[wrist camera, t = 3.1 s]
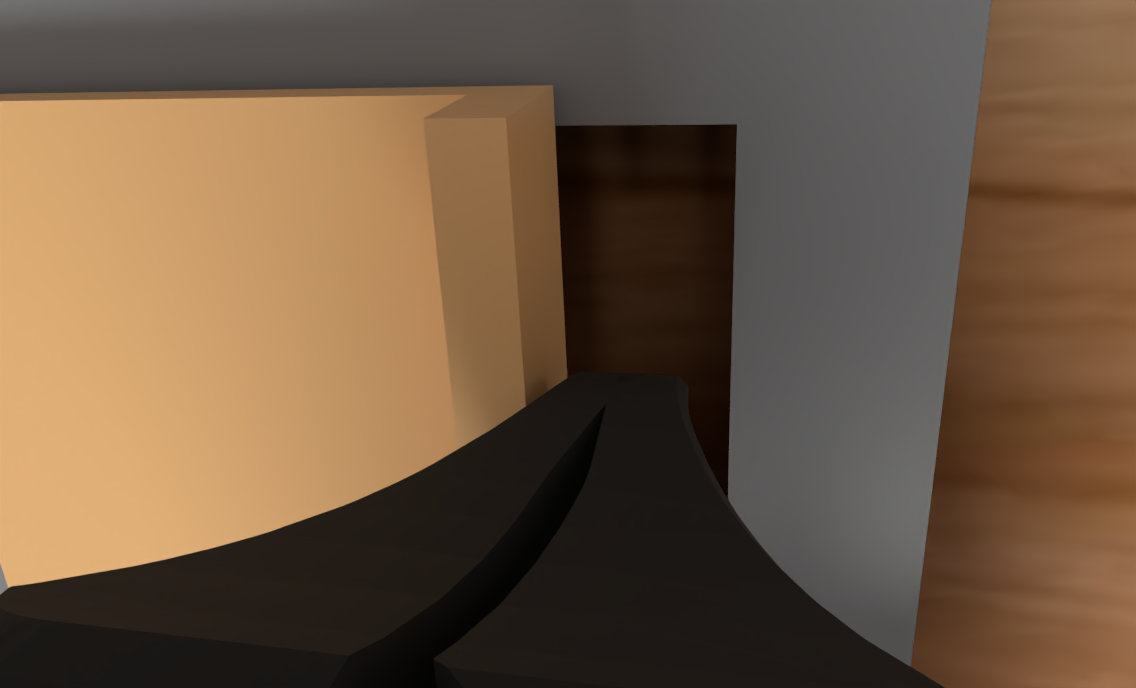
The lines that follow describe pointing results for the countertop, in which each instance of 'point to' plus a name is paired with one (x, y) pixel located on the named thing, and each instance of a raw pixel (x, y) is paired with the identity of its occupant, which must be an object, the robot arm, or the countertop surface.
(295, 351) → the panel
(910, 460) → the socket plate
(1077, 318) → the countertop surface
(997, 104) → the countertop surface
